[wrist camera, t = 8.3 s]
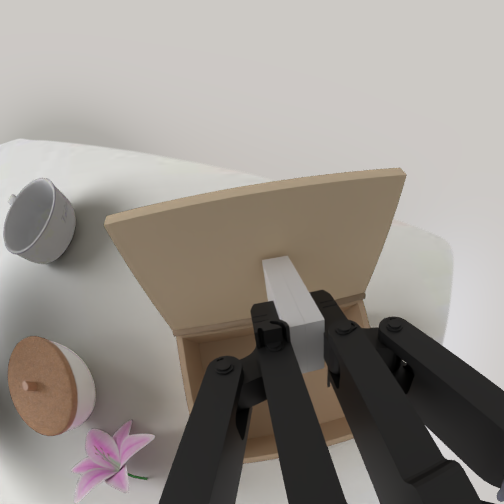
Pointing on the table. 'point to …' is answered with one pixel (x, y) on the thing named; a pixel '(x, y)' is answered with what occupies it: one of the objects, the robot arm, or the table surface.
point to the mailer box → (261, 431)
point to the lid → (256, 243)
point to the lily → (108, 459)
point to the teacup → (39, 222)
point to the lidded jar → (50, 386)
